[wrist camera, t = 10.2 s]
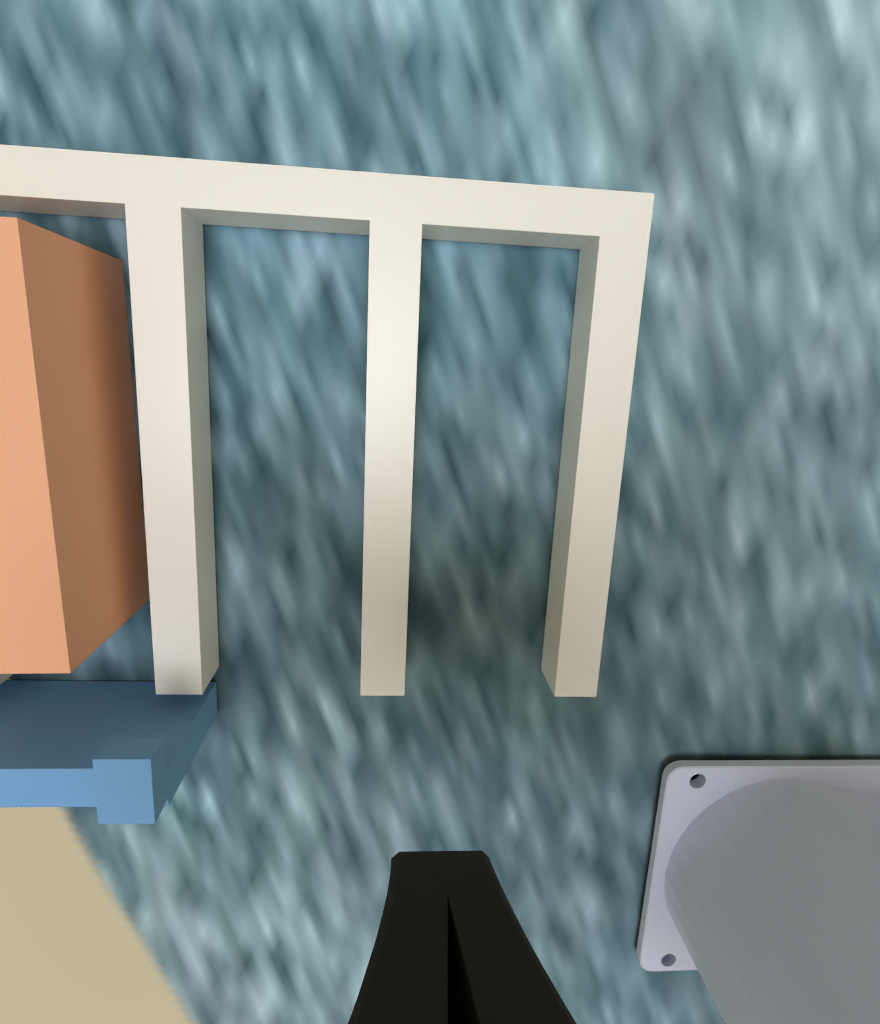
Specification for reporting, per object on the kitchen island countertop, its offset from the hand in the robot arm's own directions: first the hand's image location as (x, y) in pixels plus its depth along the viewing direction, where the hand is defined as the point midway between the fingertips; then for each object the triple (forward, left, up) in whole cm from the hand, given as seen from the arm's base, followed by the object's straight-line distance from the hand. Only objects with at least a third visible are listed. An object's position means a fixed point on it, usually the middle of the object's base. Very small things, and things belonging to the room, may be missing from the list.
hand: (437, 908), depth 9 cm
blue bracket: (+9, +2, -9) cm, 13 cm away
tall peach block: (+9, -6, -10) cm, 14 cm away
